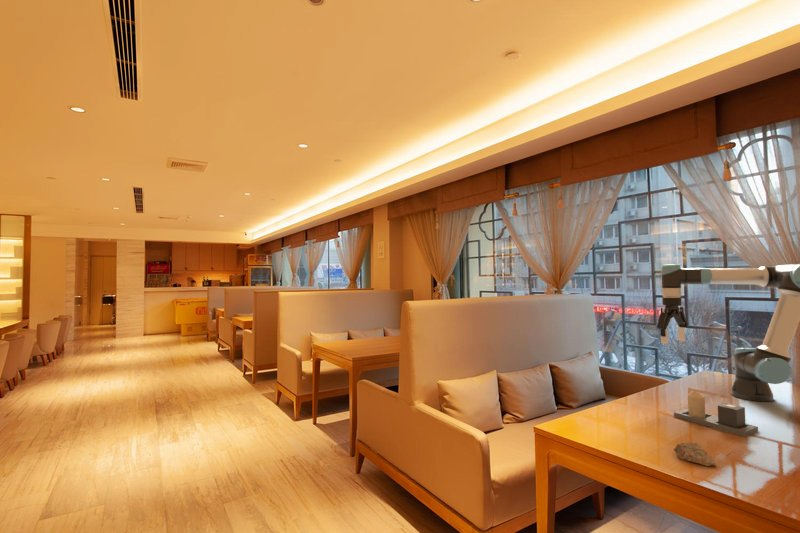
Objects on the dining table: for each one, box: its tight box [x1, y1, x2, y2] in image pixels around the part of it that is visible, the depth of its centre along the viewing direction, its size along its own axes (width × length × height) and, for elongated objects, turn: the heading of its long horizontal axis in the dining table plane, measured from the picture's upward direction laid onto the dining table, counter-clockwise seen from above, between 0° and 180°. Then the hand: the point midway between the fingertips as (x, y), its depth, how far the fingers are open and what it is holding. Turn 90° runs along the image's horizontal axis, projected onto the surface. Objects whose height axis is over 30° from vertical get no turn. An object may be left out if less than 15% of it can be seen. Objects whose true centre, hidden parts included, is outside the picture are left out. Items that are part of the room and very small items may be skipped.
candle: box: [687, 391, 706, 419], centre depth 164 cm, size 6×6×10 cm
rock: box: [673, 442, 718, 467], centre depth 128 cm, size 9×6×10 cm
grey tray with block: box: [673, 402, 759, 437], centre depth 158 cm, size 10×24×9 cm, turn 27°
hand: (673, 342), depth 190 cm, fingers open, 13 cm apart
